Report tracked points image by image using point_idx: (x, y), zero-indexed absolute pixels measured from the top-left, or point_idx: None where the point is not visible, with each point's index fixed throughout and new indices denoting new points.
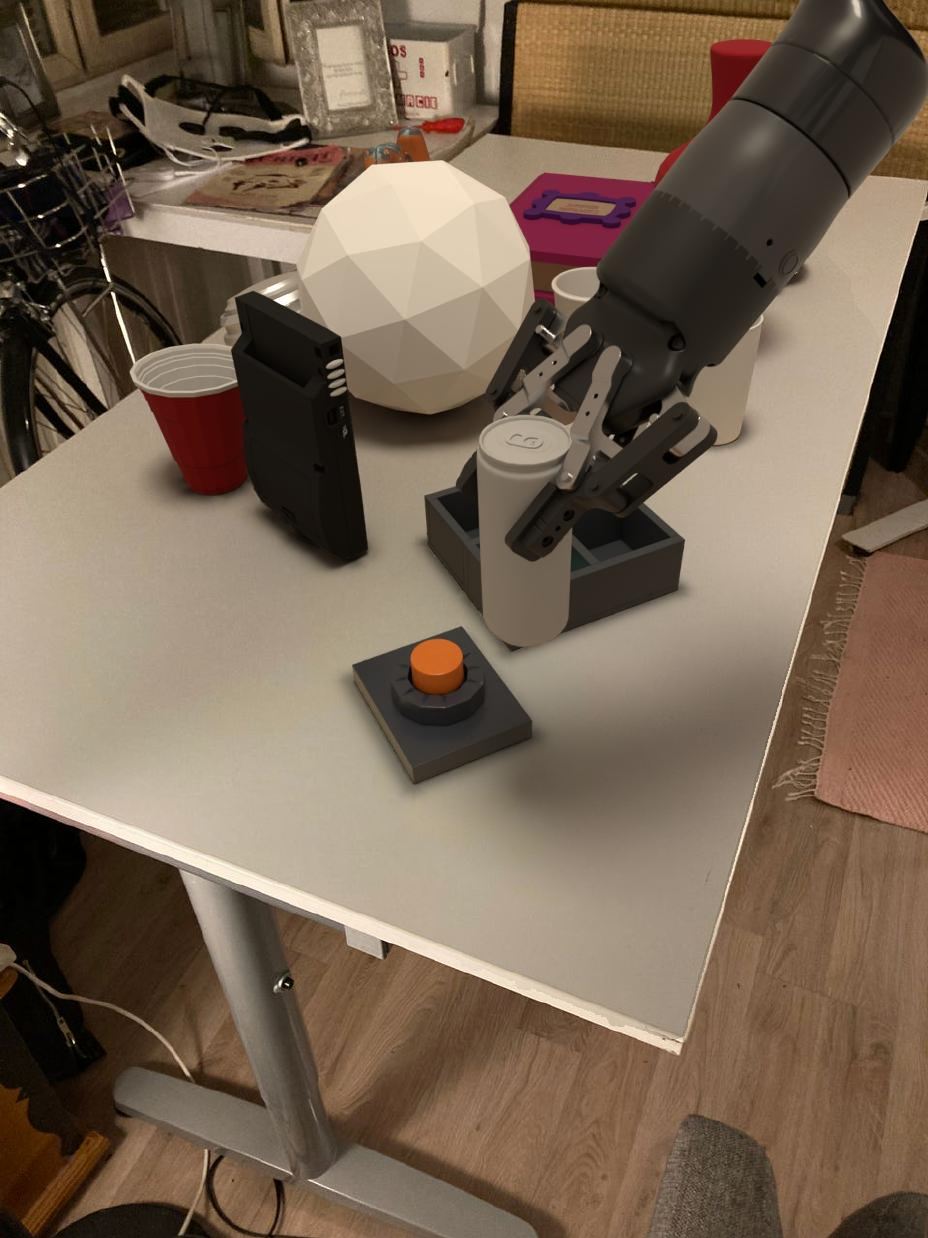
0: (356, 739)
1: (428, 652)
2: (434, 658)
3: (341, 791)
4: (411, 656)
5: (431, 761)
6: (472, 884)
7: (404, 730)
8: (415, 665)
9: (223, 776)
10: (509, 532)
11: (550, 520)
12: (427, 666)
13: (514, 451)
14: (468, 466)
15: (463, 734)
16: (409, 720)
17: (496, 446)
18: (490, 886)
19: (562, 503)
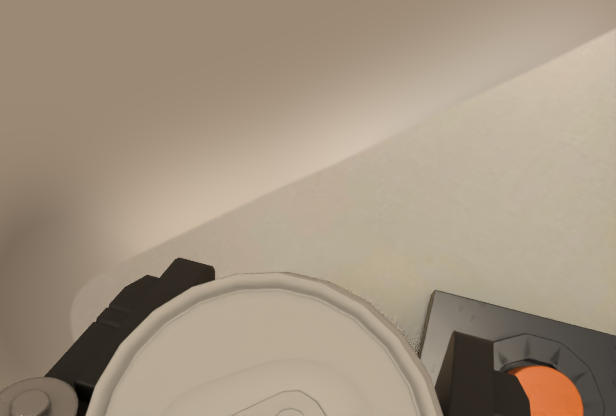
0: (537, 284)
1: (557, 402)
2: (540, 401)
3: (478, 226)
4: (566, 377)
5: (429, 314)
6: (287, 257)
7: (492, 321)
8: (545, 369)
9: (583, 139)
10: (197, 271)
11: (87, 330)
12: (532, 381)
13: (232, 365)
14: (486, 378)
15: (437, 373)
16: (503, 336)
17: (305, 340)
18: (273, 269)
19: (56, 371)
